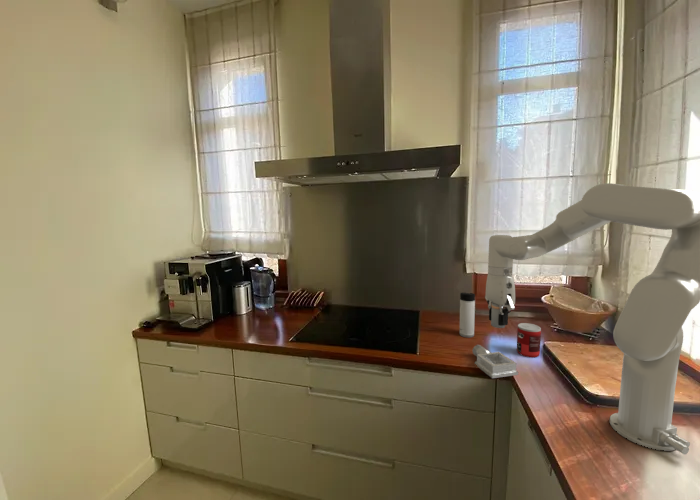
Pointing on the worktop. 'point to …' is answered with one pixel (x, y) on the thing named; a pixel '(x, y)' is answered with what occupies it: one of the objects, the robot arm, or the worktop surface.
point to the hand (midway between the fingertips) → (498, 321)
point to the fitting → (494, 363)
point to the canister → (495, 315)
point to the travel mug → (467, 314)
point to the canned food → (528, 340)
